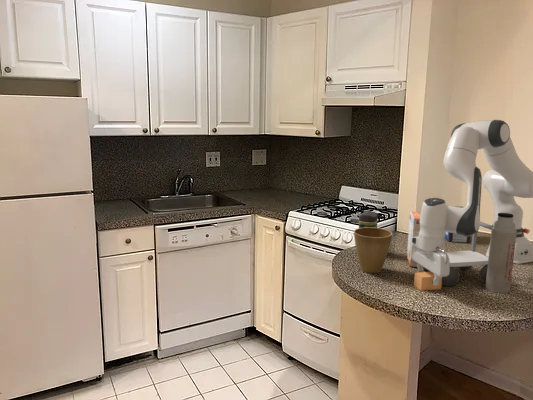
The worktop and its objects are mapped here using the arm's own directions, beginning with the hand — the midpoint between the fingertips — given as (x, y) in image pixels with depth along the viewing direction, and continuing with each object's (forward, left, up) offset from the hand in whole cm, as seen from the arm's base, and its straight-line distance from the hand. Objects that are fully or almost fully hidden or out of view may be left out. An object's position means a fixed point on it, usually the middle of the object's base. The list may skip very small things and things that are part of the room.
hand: (427, 280), depth 166 cm
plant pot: (+13, -20, -3) cm, 24 cm away
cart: (-17, -7, -3) cm, 19 cm away
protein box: (-50, -58, -3) cm, 77 cm away
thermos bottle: (-24, +6, -3) cm, 25 cm away
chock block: (0, 0, -3) cm, 3 cm away
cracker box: (-10, -26, -3) cm, 28 cm away
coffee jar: (+4, -44, -3) cm, 45 cm away
